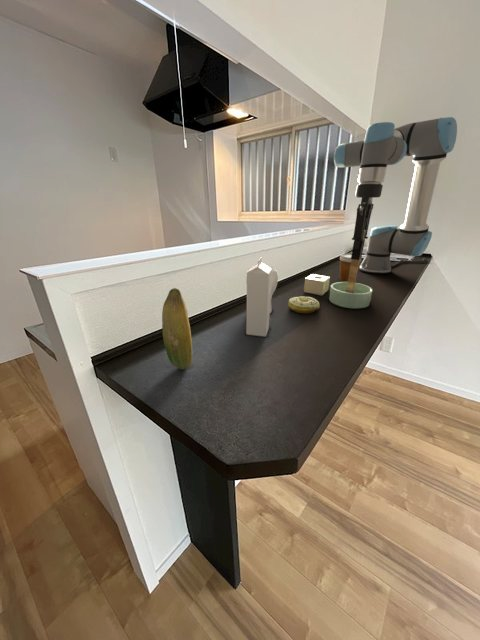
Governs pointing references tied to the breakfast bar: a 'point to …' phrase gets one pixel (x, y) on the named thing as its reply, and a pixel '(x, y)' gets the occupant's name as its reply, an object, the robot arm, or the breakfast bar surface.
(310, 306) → the decorated donut
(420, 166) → the robot arm
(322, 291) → the stand
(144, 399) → the breakfast bar surface
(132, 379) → the breakfast bar surface
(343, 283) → the bowl
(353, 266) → the stirring stick
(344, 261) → the disposable coffee cup
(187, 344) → the vegetable
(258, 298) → the milk
